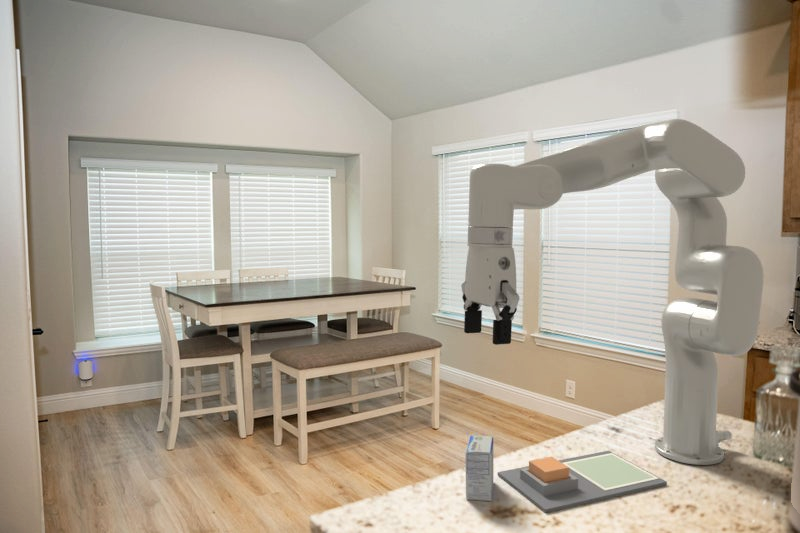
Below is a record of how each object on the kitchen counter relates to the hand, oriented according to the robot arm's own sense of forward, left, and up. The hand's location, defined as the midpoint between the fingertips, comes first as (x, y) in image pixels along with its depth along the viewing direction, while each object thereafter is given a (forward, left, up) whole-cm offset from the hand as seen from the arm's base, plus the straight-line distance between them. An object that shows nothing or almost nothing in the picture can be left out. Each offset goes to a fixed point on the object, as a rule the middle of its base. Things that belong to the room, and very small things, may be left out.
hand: (486, 338), depth 100 cm
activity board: (-19, +2, -28) cm, 33 cm away
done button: (-12, +2, -26) cm, 28 cm away
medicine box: (0, -1, -28) cm, 28 cm away
